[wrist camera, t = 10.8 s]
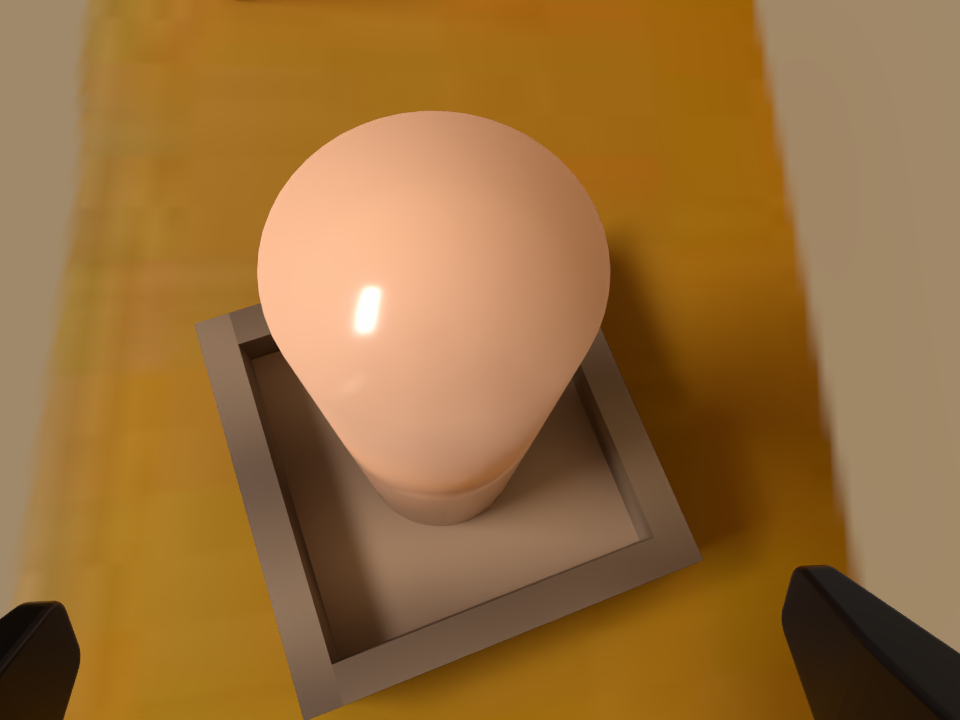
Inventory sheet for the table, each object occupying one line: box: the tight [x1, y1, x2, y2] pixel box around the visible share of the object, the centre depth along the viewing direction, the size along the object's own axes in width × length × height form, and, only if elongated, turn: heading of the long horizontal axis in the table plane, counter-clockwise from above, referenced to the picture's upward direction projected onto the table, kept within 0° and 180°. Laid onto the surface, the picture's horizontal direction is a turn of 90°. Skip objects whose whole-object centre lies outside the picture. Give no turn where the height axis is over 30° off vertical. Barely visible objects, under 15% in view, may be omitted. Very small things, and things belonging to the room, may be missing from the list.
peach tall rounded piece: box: [257, 111, 610, 526], centre depth 15 cm, size 4×4×13 cm
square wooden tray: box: [194, 303, 703, 720], centre depth 21 cm, size 11×11×3 cm
